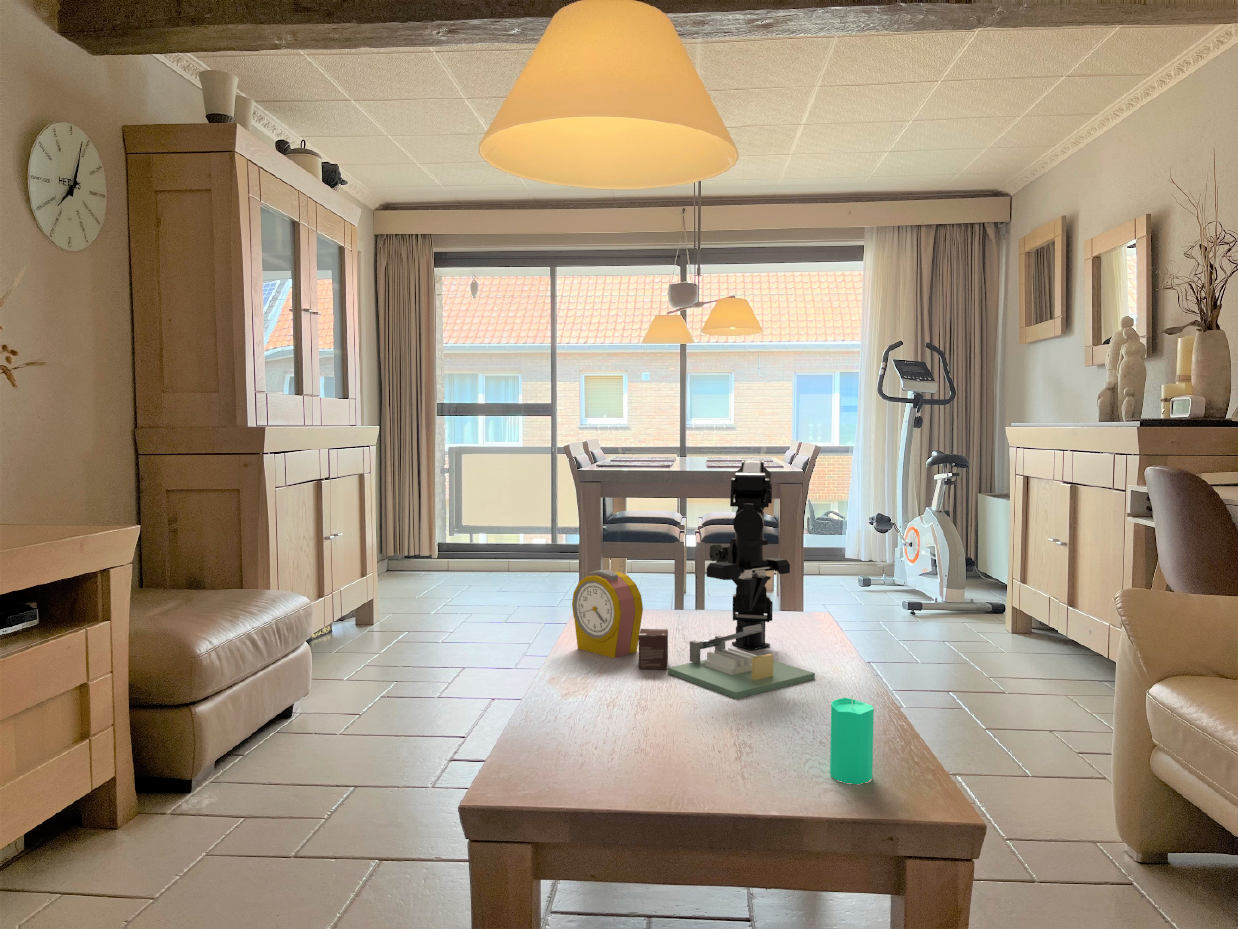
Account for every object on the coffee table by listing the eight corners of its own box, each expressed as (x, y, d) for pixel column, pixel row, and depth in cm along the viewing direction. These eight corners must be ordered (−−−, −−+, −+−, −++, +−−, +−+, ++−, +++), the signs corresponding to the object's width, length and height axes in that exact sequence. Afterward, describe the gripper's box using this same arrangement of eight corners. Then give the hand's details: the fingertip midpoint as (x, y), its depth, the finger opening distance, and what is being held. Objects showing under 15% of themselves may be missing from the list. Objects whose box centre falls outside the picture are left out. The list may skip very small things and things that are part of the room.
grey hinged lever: (714, 646, 180) (712, 637, 181) (765, 633, 168) (762, 623, 169) (697, 650, 177) (695, 641, 178) (747, 636, 165) (744, 627, 166)
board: (741, 655, 186) (741, 631, 186) (814, 678, 169) (815, 652, 169) (664, 672, 173) (665, 645, 173) (736, 698, 156) (736, 669, 156)
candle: (823, 768, 124) (825, 688, 124) (863, 767, 125) (864, 688, 124) (837, 785, 118) (839, 702, 118) (879, 784, 119) (880, 701, 118)
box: (668, 662, 180) (668, 629, 180) (667, 670, 174) (667, 635, 174) (640, 661, 181) (640, 628, 181) (638, 669, 175) (638, 635, 175)
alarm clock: (570, 647, 192) (570, 568, 191) (595, 641, 198) (595, 564, 197) (617, 660, 182) (618, 576, 181) (642, 653, 188) (643, 571, 187)
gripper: (753, 529, 183) (752, 600, 183) (688, 533, 172) (687, 608, 172) (792, 533, 174) (791, 608, 174) (726, 538, 163) (725, 618, 163)
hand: (748, 610), depth 171 cm, fingers closed
